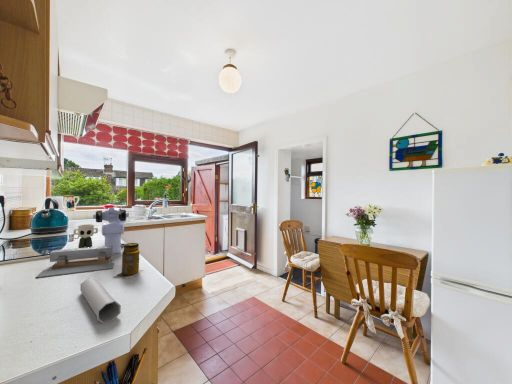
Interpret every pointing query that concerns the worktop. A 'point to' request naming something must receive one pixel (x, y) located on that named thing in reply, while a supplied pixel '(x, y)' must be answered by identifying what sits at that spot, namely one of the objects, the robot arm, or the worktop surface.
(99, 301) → the tube
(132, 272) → the condiment
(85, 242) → the character mug
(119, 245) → the robot arm
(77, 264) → the rail stand
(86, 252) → the rail
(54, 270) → the mat
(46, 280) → the worktop surface
